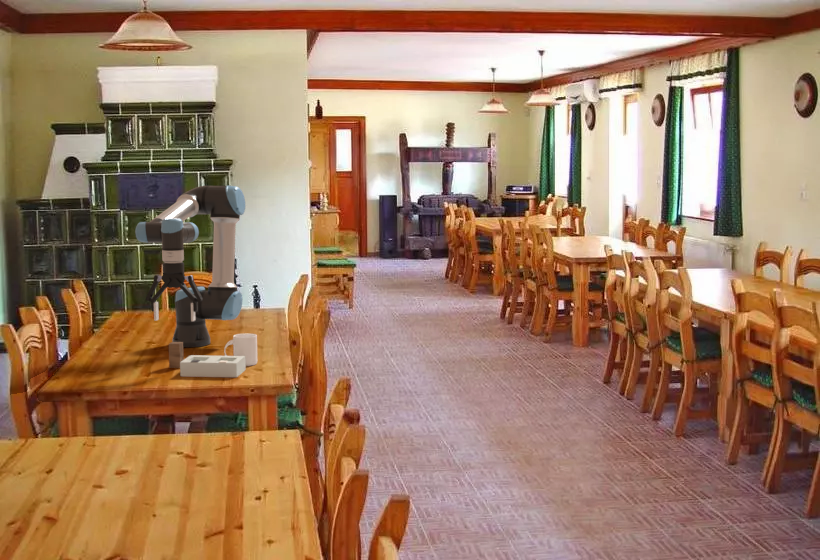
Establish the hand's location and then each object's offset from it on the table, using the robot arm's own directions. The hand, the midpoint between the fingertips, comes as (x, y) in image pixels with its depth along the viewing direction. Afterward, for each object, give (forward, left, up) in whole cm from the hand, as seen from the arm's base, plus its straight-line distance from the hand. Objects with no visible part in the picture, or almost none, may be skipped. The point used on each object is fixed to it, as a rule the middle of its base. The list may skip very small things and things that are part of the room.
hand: (174, 320), depth 344 cm
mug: (-7, +22, -18) cm, 29 cm away
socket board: (+8, +16, -17) cm, 25 cm away
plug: (0, 0, -17) cm, 17 cm away
